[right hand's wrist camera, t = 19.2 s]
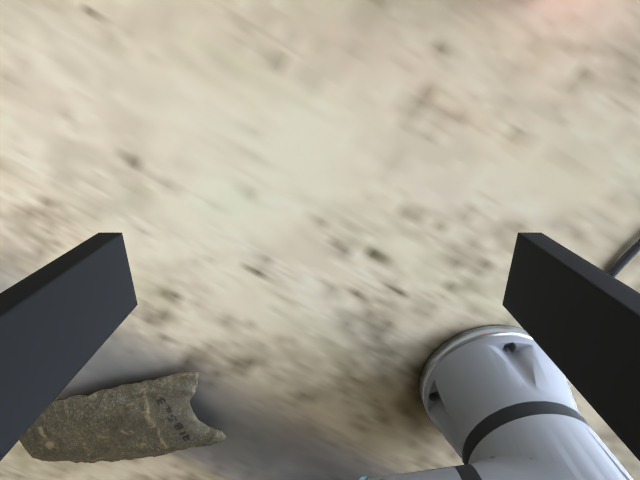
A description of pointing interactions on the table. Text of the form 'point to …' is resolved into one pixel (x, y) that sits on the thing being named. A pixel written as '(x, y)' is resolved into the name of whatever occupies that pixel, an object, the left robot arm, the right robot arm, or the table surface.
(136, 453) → the stone tool
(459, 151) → the table surface
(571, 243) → the table surface
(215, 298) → the table surface
